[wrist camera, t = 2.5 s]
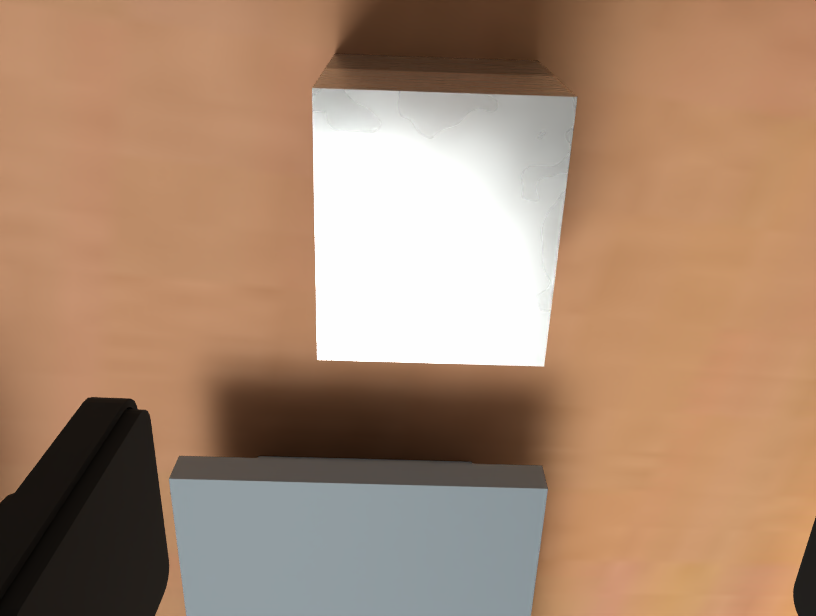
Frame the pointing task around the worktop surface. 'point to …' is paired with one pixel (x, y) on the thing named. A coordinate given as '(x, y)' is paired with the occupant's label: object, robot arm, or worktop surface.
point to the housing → (438, 207)
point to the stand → (356, 536)
